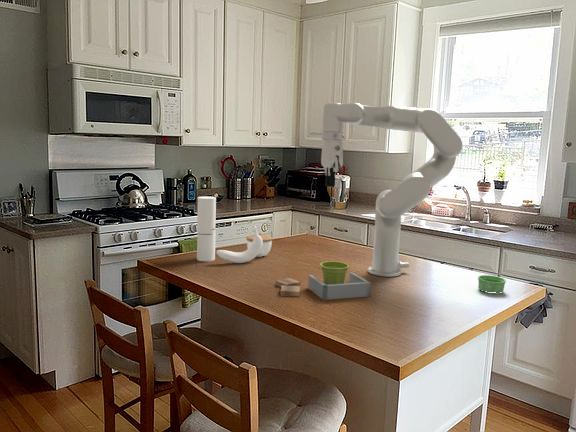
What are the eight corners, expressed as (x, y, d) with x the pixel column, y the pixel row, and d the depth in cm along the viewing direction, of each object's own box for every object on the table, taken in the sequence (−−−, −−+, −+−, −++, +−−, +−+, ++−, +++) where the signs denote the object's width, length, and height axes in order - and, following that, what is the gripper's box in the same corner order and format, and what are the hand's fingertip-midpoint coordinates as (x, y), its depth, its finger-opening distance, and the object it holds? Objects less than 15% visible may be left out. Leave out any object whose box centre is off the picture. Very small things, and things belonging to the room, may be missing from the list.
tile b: (299, 292, 171) (299, 286, 171) (299, 297, 165) (299, 291, 165) (281, 291, 171) (281, 285, 171) (280, 296, 165) (280, 290, 165)
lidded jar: (240, 255, 218) (241, 233, 216) (256, 251, 226) (257, 230, 225) (261, 259, 212) (261, 236, 210) (276, 255, 220) (277, 233, 219)
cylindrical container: (218, 259, 210) (219, 197, 206) (206, 262, 204) (207, 199, 200) (205, 256, 213) (206, 196, 210) (193, 259, 207) (193, 197, 204)
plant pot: (345, 295, 168) (346, 269, 166) (316, 292, 170) (317, 266, 169) (349, 287, 177) (350, 262, 175) (322, 284, 179) (323, 260, 178)
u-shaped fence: (351, 284, 180) (352, 272, 179) (370, 296, 168) (371, 282, 167) (308, 287, 174) (308, 274, 174) (323, 300, 162) (324, 286, 161)
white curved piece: (215, 263, 202) (215, 226, 200) (258, 259, 212) (259, 223, 210) (220, 266, 198) (220, 228, 196) (264, 261, 208) (265, 225, 206)
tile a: (288, 283, 180) (289, 278, 180) (300, 287, 176) (300, 282, 176) (275, 286, 177) (275, 280, 176) (286, 290, 172) (286, 284, 172)
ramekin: (487, 295, 174) (488, 282, 173) (471, 287, 182) (472, 275, 182) (510, 294, 176) (511, 281, 175) (493, 286, 185) (494, 274, 184)
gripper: (350, 137, 187) (347, 188, 190) (333, 137, 201) (330, 184, 203) (331, 137, 184) (329, 188, 187) (315, 136, 198) (313, 184, 201)
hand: (329, 186), depth 195 cm, fingers closed
